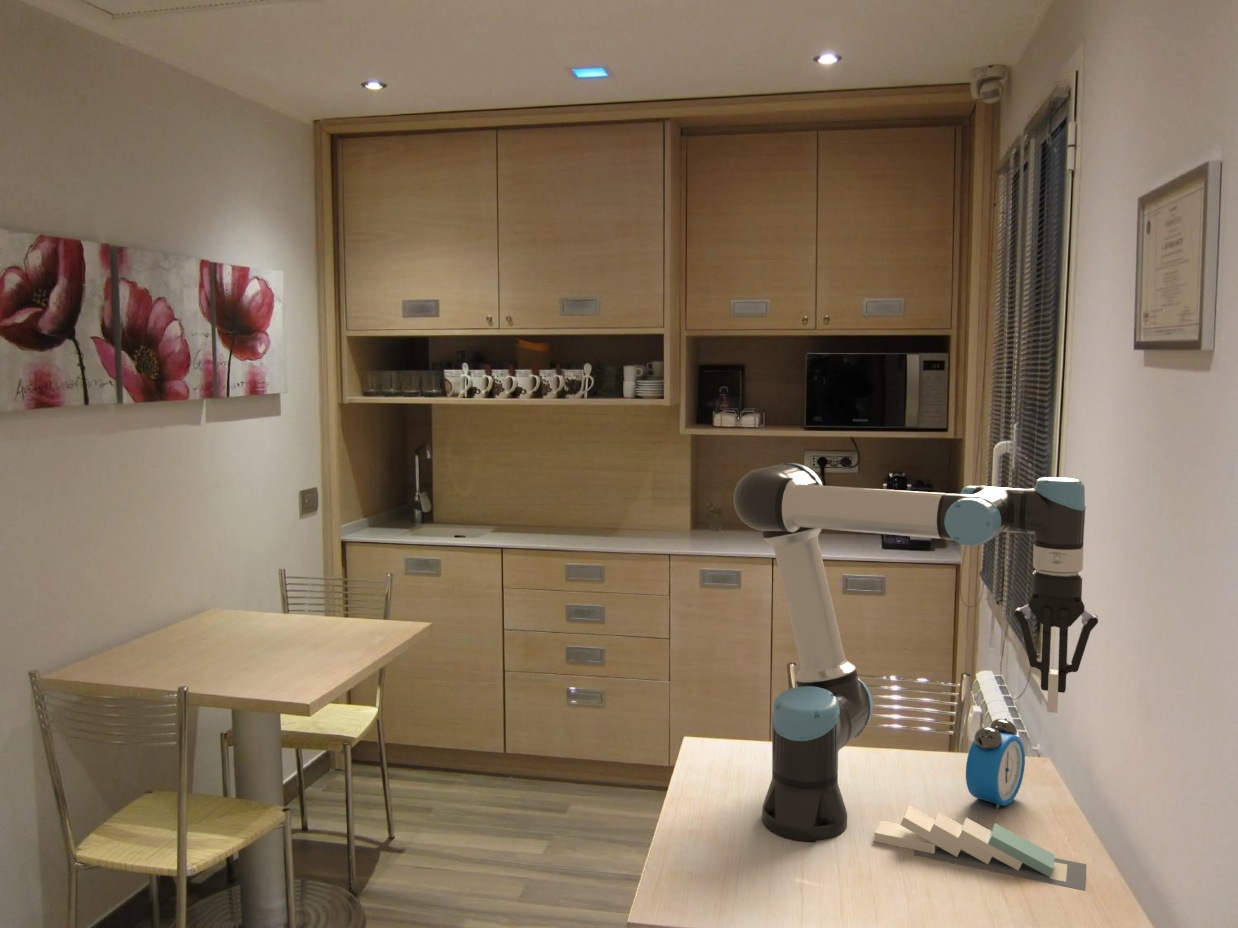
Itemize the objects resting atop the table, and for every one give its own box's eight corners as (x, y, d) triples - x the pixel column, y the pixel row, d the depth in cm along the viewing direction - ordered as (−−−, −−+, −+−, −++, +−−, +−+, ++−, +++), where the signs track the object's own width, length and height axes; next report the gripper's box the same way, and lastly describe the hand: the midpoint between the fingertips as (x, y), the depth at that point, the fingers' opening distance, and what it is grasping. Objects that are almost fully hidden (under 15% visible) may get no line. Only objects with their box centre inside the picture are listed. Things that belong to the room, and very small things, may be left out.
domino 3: (988, 864, 160) (929, 831, 164) (991, 850, 165) (934, 819, 169) (992, 856, 160) (933, 823, 164) (995, 843, 164) (938, 811, 168)
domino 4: (1018, 870, 158) (958, 837, 162) (1020, 856, 163) (962, 824, 167) (1022, 862, 158) (962, 829, 162) (1024, 848, 162) (966, 817, 166)
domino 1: (934, 853, 164) (874, 841, 169) (939, 840, 169) (880, 828, 173) (934, 844, 164) (874, 832, 168) (939, 831, 168) (880, 820, 173)
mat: (913, 856, 164) (913, 854, 164) (922, 833, 172) (922, 831, 172) (1085, 892, 152) (1085, 890, 152) (1086, 865, 160) (1086, 863, 160)
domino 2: (956, 856, 163) (900, 824, 166) (960, 843, 167) (905, 812, 171) (960, 848, 162) (903, 816, 166) (964, 836, 167) (909, 805, 170)
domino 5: (1054, 854, 160) (994, 822, 164) (1053, 868, 156) (991, 835, 160) (1050, 862, 161) (990, 830, 165) (1049, 876, 156) (987, 843, 160)
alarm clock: (995, 816, 178) (997, 737, 177) (962, 806, 182) (964, 728, 181) (1024, 794, 187) (1027, 718, 186) (993, 785, 192) (995, 710, 190)
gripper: (1013, 572, 161) (1008, 710, 163) (1101, 579, 155) (1095, 722, 157) (1016, 563, 168) (1012, 697, 170) (1101, 570, 162) (1095, 708, 164)
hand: (1052, 709), depth 164 cm, fingers closed
